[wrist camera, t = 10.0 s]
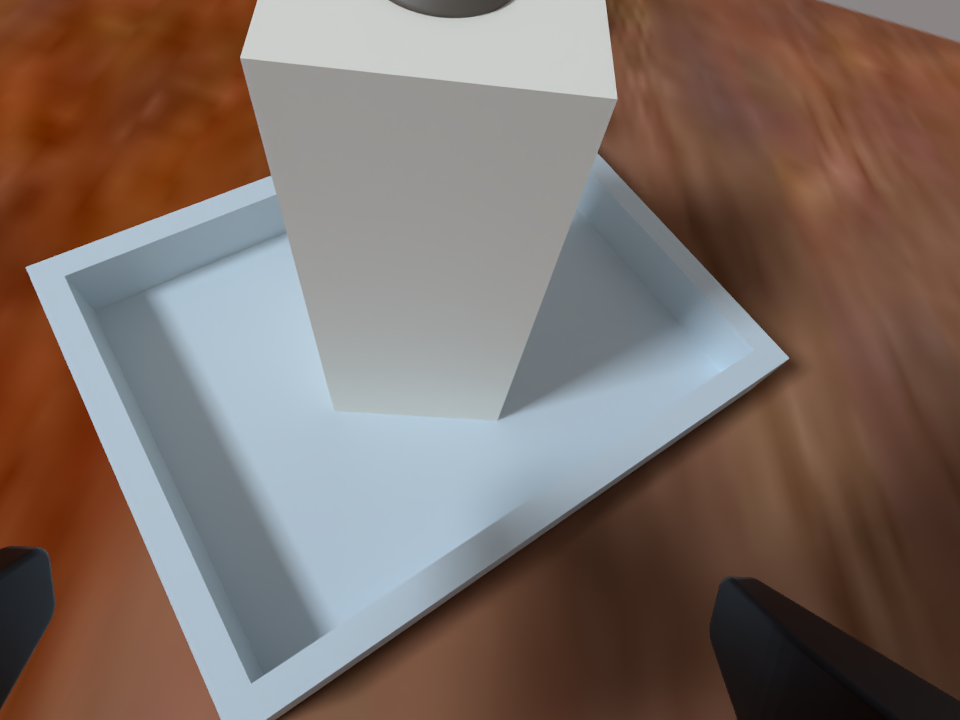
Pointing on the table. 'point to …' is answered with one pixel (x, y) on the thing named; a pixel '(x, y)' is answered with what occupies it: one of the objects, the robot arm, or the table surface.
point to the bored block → (427, 181)
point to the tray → (366, 427)
